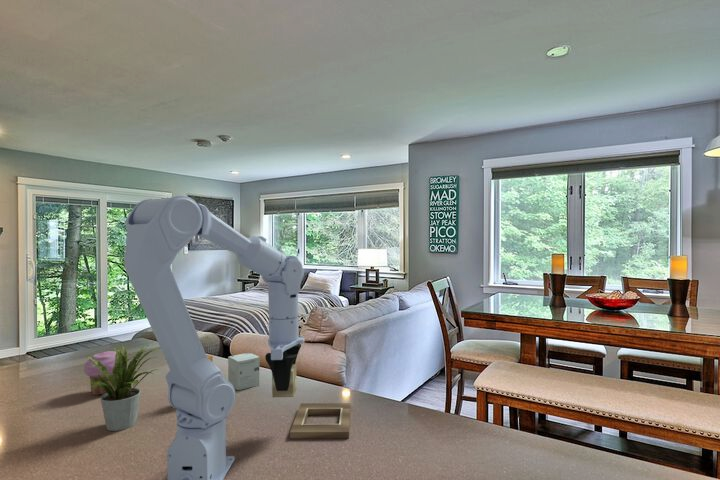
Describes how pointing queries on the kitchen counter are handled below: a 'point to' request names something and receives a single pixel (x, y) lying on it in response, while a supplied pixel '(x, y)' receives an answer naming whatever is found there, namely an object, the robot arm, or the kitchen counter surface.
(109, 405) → the house plant
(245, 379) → the skincare box
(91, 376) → the cupcake
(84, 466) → the kitchen counter surface
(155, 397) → the kitchen counter surface
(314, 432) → the plate
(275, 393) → the beige block with stripe
